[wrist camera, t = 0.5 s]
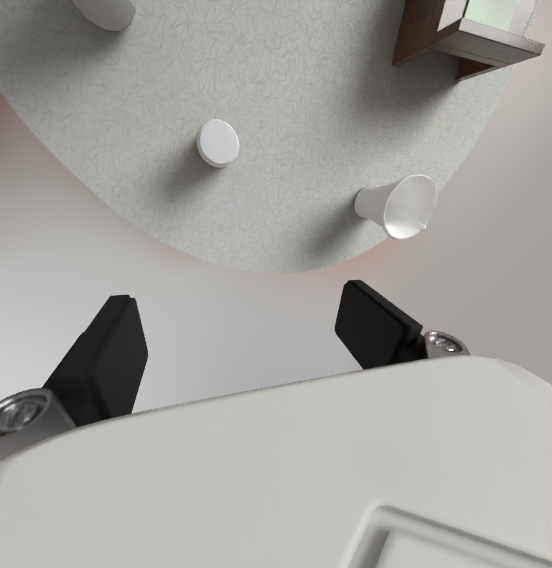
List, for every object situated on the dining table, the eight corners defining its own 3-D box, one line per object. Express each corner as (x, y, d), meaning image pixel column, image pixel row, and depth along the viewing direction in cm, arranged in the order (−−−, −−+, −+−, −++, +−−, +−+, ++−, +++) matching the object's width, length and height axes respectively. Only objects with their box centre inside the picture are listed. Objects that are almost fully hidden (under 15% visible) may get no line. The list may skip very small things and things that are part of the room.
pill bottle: (198, 122, 30) (195, 109, 23) (235, 130, 31) (244, 121, 24) (197, 163, 32) (195, 163, 25) (232, 169, 33) (240, 171, 26)
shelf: (415, -43, 28) (506, -133, 20) (491, -13, 32) (598, -79, 23) (391, 65, 33) (458, 30, 24) (460, 81, 36) (540, 55, 27)
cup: (363, 236, 44) (401, 253, 35) (336, 200, 39) (373, 210, 31) (399, 200, 43) (448, 209, 34) (376, 159, 38) (426, 158, 29)
